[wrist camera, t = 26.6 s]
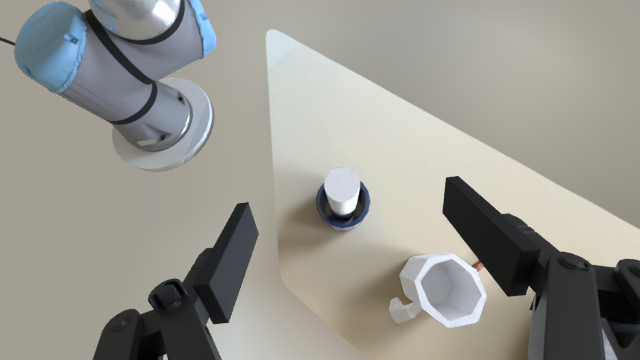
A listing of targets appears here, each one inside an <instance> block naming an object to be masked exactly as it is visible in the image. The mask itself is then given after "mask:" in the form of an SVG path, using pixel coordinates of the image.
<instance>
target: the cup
mask: <svg viewBox="0 0 640 360" xmlns="http://www.w3.org/2000/svg"><path fill="white" fill-rule="evenodd" d="M316 204H317V210H318V212H319V214H320V215H321V217H322V219H323V220H324V222H325V223H326V224H327V225H328V226H330V227H331V228H333V229H335V230H339V231H348V230H352V229H354V228H356V227H357V226H359V225H360V224H361V223H362V221H363V220H364V218H365V217H366V215H367V213H368V211H369V206H370V197H369V192H368V190H367V189H366V187H365V186H364V184H363V183H362V182H361V181H360V190H359V194H358V199H357V203H356V207H355V211H354V213H353V214H352V216H350V217H349V218H346V219H341V218H338V217H336V216H335V215H334V214H333V212H332V210H331V207H330V204H329V201H328V198H327V194H326V191H325V188H324V183H323V185H322V186H321V187H320V189H319V190H318V194H317V197H316Z"/></svg>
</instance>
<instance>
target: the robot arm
mask: <svg viewBox="0 0 640 360" xmlns="http://www.w3.org/2000/svg"><path fill="white" fill-rule="evenodd" d="M88 1H89V5H90V7H91V9H90V10H88V11H86V12H83V13H82V12H81V11H80V10H79V9H78V8H77V7H75V6H72V5H71V4H69V3H66V2H59V3H58V2H53V3H50V4H47V5H45V6H43V7H42V8H40V9H39V10H37V11H36V12H35V13H34V14H33V15H32V16H31V17H30V18H29V19H28V20H27V21H26V23H25V24H24V26H23V27H22V28H21V30H20V33H19V34H18V37H17V39H16V43H14V42H11V41H9V40H6V39H3V38H0V40H1V41H4V42H6V43H9V44H11V45H14V46H15V49H14V54H15V60H16V63H17V65H18V67H19V68H20V69H21V70H22V71H23V73H24V74H26V75H27V76H28V77H30V78H31V79H33V80H35V81H36V82H38V83H39V84H41V85H42V86H44V87H46V88H47V89H48V90H49V91H51V92H52V93H56V94H58V95H60V96H62V97H64V98H66V99H67V100H69V101H71V102H73V103H75V104H77V105H79V106H80V107H82V108H84V109H86V110H88V111H89V112H91V113H93V114H95V115H97V116H99V117H101V118H102V119H105V120H106V121H108V122H110V123H111V124H112V125H113V126H114V127H115V128H116V129H117V130H118V131H119V133H120V134H121V135H122V136H123V137H124V138H125V139H126V140H127V141H128V142H129V143H130V144H132V145H133V146H135V147H137V148H139V149H141V150H143V151H147V152H158V151H163V150H166V149H168V148H170V147H172V146H174V145H175V144H177V143H178V142H179V141H180V140H181V139H182V138H183V137H184V136H185V135H186V133H187V132H188V130H189V128H190V126H191V123H192V120H193V109H192V105H191V103H190V101H189V100H188V99H187V98H186V97H185V96H184V95H183V94H182V93H181V92H179V91H178V90H176V89H175V88H172V87H170V86H168V85H166V84H164V83H162V82H159V81H158V80H160V79H162V78H163V77H165V76H167V75H169V74H171V73H173V72H174V71H177V70H178V69H180V68H182V67H184V66H186V65H188V64H190V63H192V62H194V61H196V60H198V59H201V58H203V57H204V56H205V55H206V54H208V53H209V52H211V51H213V50H214V49H215V47H216V44H217V42H216V41H217V40H216V36H215V33H214V31H213V28H212V26H211V23H210V21H209V19H208V17H207V16H206V14H205V11H204V9H203V7H202V5H201V3H200V1H199V0H88ZM442 213H443V214H444V215H445V217H446V218H447V219H448V220H449V222H450V223H451V224H452V226H453V227H454V228H455V229H456V231H457V232H458V233H459V235H460V236H461V237H462V238H463V240H464V241H465V242H466V244H467V245H468V246H469V247H470V249H471V250H472V251H473V253H474V254H475V255H476V256H477V258H478V259H479V260H480V262H481V263H482V264H483V265H484V267H485V268H486V269H487V271H488V272H489V273H490V274H491V276H492V277H493V278H494V280H495V281H496V282H497V283H498V285H499V286H500V287H501V289H502V290H503V291H504V292H505V294H506V295H507V296H508V297H510V296H521V295H526V292H527V289H528V287H529V286H530V287H531V289H532V290H533V291H534V292H535V293H536V294H535V296H534V299H533V302H532V304H531V307H530V309H529V310H532V319H531V328H530V337H529V347H528V356H527V360H606V358H605V350H604V341H603V333H602V329H603V331H604V333H605V335H606V337H607V339H608V341H609V343H610V345H611V347H612V349H613V351H614V354H615V356H616V358H617V360H640V261H639V260H635V259H623V260H620V261H619V262H618V263H617V265H616V267H615V268H614V267H606V266H597V265H591V264H590V263H589V262H588V261H587V260H585V259H583V258H582V257H580V256H577V255H574V254H572V253H567V252H560V251H559V250H558V249H556V248H555V247H554V246H553V245H551V244H550V243H549V242H548V241H547V240H545V239H544V238H543V237H542V236H540V235H539V234H538V233H537V232H535V231H534V230H533V229H532V228H531V227H528V225H527V224H526V223H525V222H523V221H522V220H521V219H519V218H517V217H515V216H513V215H511V214H501V213H500V212H499V211H498V210H496V209H495V208H494V207H493V206H492V205H491V204H490V203H488V202H487V201H486V200H485V199H484V198H483V197H482V196H480V195H479V194H478V193H477V192H476V191H475V190H474V189H472V188H471V187H470V186H469V185H468V184H467V183H466V182H464V181H463V180H462V179H461V178H460V177H459V176H455V177H447V178H446V183H445V193H444V202H443V212H442ZM258 235H259V233H258V231H257V227H256V224H255V221H254V218H253V215H252V212H251V209H250V206H249V203H248V202H247V203H239V204H237V205H236V207H235V209H234V211H233V213H232V214H231V216H230V218H229V220H228V222H227V223H226V225H225V227H224V229H223V231H222V233H221V234H220V236H219V238H218V240H217V242H216V243H215V245H214V247H213V248H206V249H205V250H204V251H203V252H202V253H201V254H200V255H199V256H198V258H197V259H196V261H195V264H194V265H193V266H192V268H191V270H190V271H189V273H188V275H187V276H186V278H185V279H184V281H183V283H182V282H181V281H180V280H179V279H170V280H167V281H164V282H162V283H161V284H159V285H158V286H157V287H155V288H154V289H153V290H152V291H151V293H150V295H149V297H148V301H149V303H150V304H151V306H152V307H153V309H154V310H152V311H149V312H146V313H143V314H139V312H138V311H137V310H135V309H129V310H125V311H123V312H121V313H119V314H117V315H116V316H115V317H114V318H112V319H111V320H110V321H109V322H108V323H107V324H106V325H105V327H104V329H103V331H102V334H101V337H100V340H99V343H98V346H97V348H96V352H95V354H94V357H93V360H163V355H165V354H167V357H168V360H222V359H221V357H220V355H219V352H218V350H217V348H216V346H215V343H214V341H213V339H212V336H211V334H210V333H209V330H208V328H207V326H206V323H207V321H208V319H209V317H210V319H211V321H212V322H213V324H220V323H229V320H230V317H231V314H232V311H233V307H234V305H235V302H236V299H237V296H238V293H239V290H240V288H241V285H242V282H243V278H244V276H245V273H246V270H247V267H248V264H249V261H250V258H251V255H252V252H253V249H254V246H255V243H256V240H257V237H258Z"/></svg>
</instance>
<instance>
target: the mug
mask: <svg viewBox="0 0 640 360" xmlns="http://www.w3.org/2000/svg"><path fill="white" fill-rule="evenodd" d="M399 277H400V280H401V284H402V288H403V291H404V295H405V296H406V297H407V298H409V299H410V300H411V301H413V302H412V303H410V304H408V305H404V306H403V304H402V303H401V301H400V300H399V299H398V297H395V298H393V299H391V303H390V308H389V313H390V315H391V317H392V319H393V320H394V321H395V323H396V324H399V323H402V322H405V321H408V320H410V319H413V318H414V317H415V316H416V315H417V314H419V313H420V312H421V311H422V310H425V311H426V312H427V313H429V314H430V315H431V316H433V317H434V318H435V319H437V320H438V321H439V322H441V323H442V324H443V325H445V326H446V327H447V328H452V327H457V326H462V325H468V324H473V323H478V320H479V317H480V315H481V312H482V309H483V306H484V304H485V301H486V298H487V295H486V292H485V290H484V288H483V285H482V283H481V280H480V278H479V276H478V273H477V271H476V269H475V268H473V267H472V266H470V265H469V264H467V263H466V262H464V261H463V260H461V259H460V258H458V257H457V256H455V255H454V254H425V255H419V256H414V257H410V258H409V260H408V261H407V263H406V264H405V266H404V268H403V269H402V271H401V273H400V274H399Z"/></svg>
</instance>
